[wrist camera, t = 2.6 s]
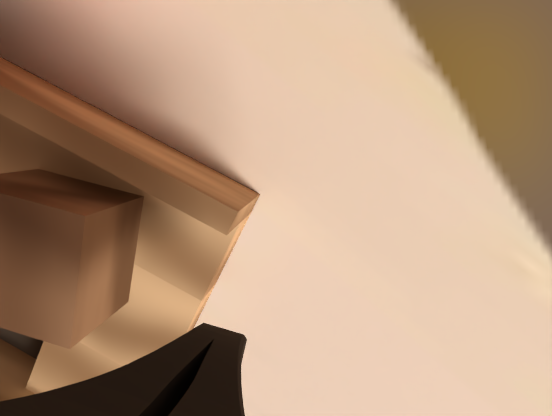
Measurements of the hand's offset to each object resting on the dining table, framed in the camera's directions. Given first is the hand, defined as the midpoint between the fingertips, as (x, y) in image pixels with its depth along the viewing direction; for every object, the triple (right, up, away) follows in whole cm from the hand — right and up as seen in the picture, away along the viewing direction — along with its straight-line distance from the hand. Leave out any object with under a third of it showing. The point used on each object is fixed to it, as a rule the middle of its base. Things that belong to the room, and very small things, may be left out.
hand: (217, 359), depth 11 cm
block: (-7, +3, +6) cm, 10 cm away
